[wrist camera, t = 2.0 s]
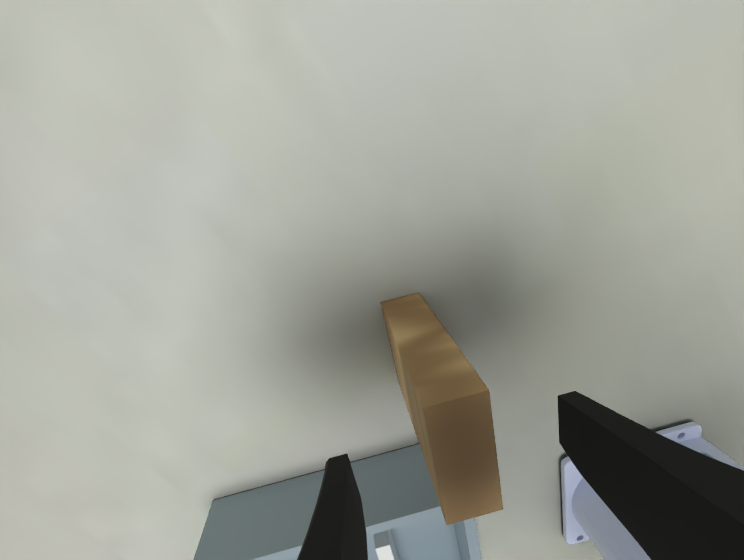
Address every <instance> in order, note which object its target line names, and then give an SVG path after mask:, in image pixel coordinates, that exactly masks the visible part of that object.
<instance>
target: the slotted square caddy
mask: <svg viewBox="0 0 744 560" xmlns="http://www.w3.org/2000/svg"><path fill="white" fill-rule="evenodd" d="M350 464H351V467H352V470H353V473H354V477H355V480H356V483H357V486H358V489H359V493H360V496H361V499H362V506H363V513H364V520H365V527H366V534H367V551H368V560H482V556H481V550H480V544H479V538H478V532H477V525H476V519H475V517H474V518H471V519H467V520H464V521H460V522H457V523H453V524H450V525H446V522H445V519H444V516H443V513H442V510H441V507H440V504H439V501H438V498H437V495H436V492H435V489H434V486H433V483H432V480H431V477H430V474H429V471H428V468H427V465H426V462H425V459H424V456H423V453H422V450H421V447H420V444H417V445H413V446H410V447H406V448H402V449H399V450H395V451H391V452H388V453H384V454H380V455H377V456H373V457H370V458H366V459H362V460H359V461H355V462H351V463H350ZM324 472H325V470H322V471H318V472H315V473H311V474H307V475H304V476H300V477H296V478H293V479H289V480H285V481H282V482H278V483H275V484H271V485H267V486H264V487H260V488H256V489H253V490H249V491H245V492H242V493H238V494H234V495H231V496H227V497H223V498H220V499H216V500H213V502H212V505H211V508H210V511H209V514H208V517H207V520H206V523H205V526H204V529H203V532H202V535H201V538H200V542H199V545H198V548H197V551H196V554H195V557H194V560H297V558H298V556H299V553H300V550H301V547H302V545H303V542H304V539H305V537H306V534H307V531H308V528H309V525H310V522H311V518H312V515H313V512H314V509H315V506H316V502H317V499H318V495H319V492H320V488H321V484H322V480H323V476H324Z"/></svg>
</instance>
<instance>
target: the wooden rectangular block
mask: <svg viewBox="0 0 744 560" xmlns="http://www.w3.org/2000/svg"><path fill="white" fill-rule="evenodd" d="M381 306H382V310H383V315H384V319H385V323H386V328H387V332H388V337H389V341H390V345H391V350H392V354H393V359H394V363H395V368H396V372H397V376H398V381H399V385H400V388H401V391H402V394H403V397H404V400H405V402H406V405H407V408H408V411H409V414H410V417H411V420H412V423H413V426H414V429H415V432H416V435H417V438H418V441H419V444H420V447H421V450H422V453H423V456H424V459H425V462H426V465H427V468H428V471H429V474H430V477H431V480H432V483H433V486H434V489H435V492H436V495H437V498H438V501H439V504H440V507H441V510H442V513H443V516H444V519H445V522H446V525H450V524H453V523H457V522H460V521H464V520H467V519H471V518H474V517H478V516H481V515H485V514H488V513H491V512H495V511H498V510H502V509H503V503H502V495H501V487H500V478H499V470H498V462H497V453H496V445H495V437H494V428H493V420H492V412H491V403H490V395H489V389H488V388H487V387H486V385H485V384H484V382H483V381H482V380H481V378H480V377H479V375H478V374H477V373H476V371H475V370H474V369H473V367H472V366H471V364H470V363H469V362H468V360H467V359H466V357H465V356H464V355H463V353H462V352H461V350H460V349H459V348H458V346H457V345H456V343H455V342H454V341H453V339H452V338H451V336H450V335H449V334H448V332H447V331H446V330H445V328H444V327H443V325H442V324H441V323H440V321H439V320H438V318H437V317H436V316H435V314H434V313H433V311H432V310H431V309H430V307H429V306H428V304H427V303H426V302H425V300H424V299H423V298H422V296H421V295H420V293H415V294H411V295H408V296H404V297H400V298H396V299H392V300H388V301H384V302H381Z"/></svg>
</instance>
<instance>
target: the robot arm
mask: <svg viewBox="0 0 744 560" xmlns="http://www.w3.org/2000/svg"><path fill="white" fill-rule="evenodd" d="M558 416H559V443H560V444H561V446H562V447H563V449H564V450H565V452H566V453H567V455H568V457H565V458H564V459H563V460H562V461H561V483H562V509H563V536H564V539H565V541H566V542H567V543H568V544H571V545H572V544H576V543H580V542H583V541H586V540H591V542H592V543H593V545H594V546H595V547H596V549H597V550H598V552H599V553H600V555H601V556H602V557H603V559H604V560H744V468H743V467H742V466H740V465H739V464H738V463H736V462H735V461H734V460H732V459H731V458H730V457H728V456H727V455H725V454H724V453H723V452H721V451H720V450H719V449H717V448H716V447H714V446H713V445H712V444H710V443H709V442H708V441H706V440H705V439H704V438H702V437H701V433H702V427H701V426H700V425H699V424H697V423H696V422H689V423H685V424H681V425H678V426H674V427H671V428H667V429H664V430H660V431H657V432H654V431H652V430H650V429H648V428H646V427H644V426H642V425H640V424H638V423H636V422H634V421H632V420H630V419H628V418H626V417H624V416H622V415H620V414H618V413H616V412H615V411H613V410H611V409H609V408H607V407H605V406H603V405H601V404H599V403H597V402H596V401H594V400H592V399H590V398H588V397H586V396H584V395H582V394H580V393H578V392H576V391H573V392H570V393H566V394H562V395H559V396H558ZM297 560H368V551H367V534H366V527H365V520H364V513H363V506H362V499H361V496H360V493H359V489H358V486H357V483H356V480H355V477H354V473H353V470H352V467H351V464H350V461H349V458H348V454H344V455H340V456H336V457H333V458H329V459H328V461H327V462H326V467H325V472H324V476H323V480H322V484H321V488H320V492H319V495H318V499H317V502H316V506H315V509H314V512H313V515H312V518H311V522H310V525H309V528H308V531H307V534H306V537H305V539H304V542H303V545H302V547H301V550H300V553H299V556H298V558H297Z"/></svg>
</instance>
